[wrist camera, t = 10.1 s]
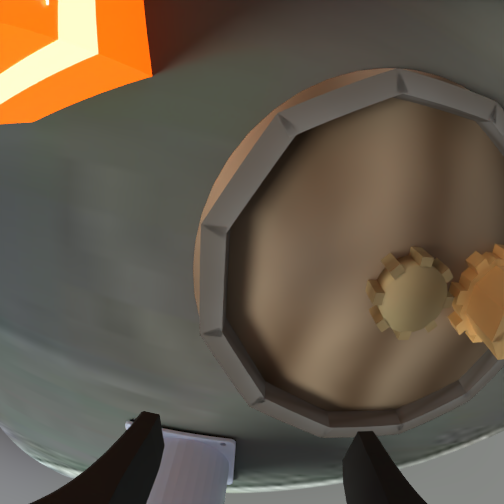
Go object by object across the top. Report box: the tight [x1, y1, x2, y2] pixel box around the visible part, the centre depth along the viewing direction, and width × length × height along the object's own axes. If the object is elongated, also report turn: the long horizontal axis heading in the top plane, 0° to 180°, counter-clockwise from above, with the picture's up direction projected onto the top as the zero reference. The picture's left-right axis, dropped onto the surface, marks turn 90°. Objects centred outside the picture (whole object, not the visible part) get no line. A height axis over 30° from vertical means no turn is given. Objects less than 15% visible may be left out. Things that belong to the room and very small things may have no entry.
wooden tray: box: [193, 68, 504, 438], centre depth 17 cm, size 24×24×3 cm
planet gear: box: [448, 244, 504, 360], centre depth 15 cm, size 6×6×4 cm
